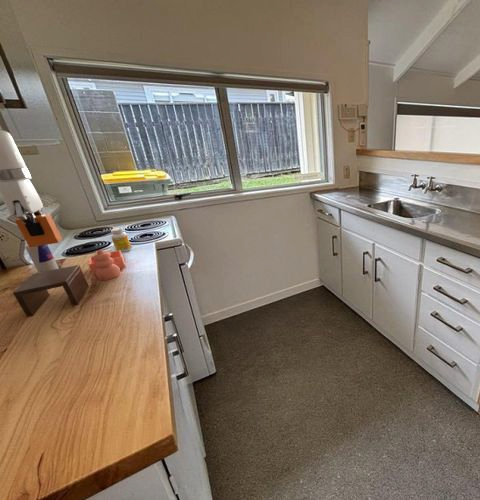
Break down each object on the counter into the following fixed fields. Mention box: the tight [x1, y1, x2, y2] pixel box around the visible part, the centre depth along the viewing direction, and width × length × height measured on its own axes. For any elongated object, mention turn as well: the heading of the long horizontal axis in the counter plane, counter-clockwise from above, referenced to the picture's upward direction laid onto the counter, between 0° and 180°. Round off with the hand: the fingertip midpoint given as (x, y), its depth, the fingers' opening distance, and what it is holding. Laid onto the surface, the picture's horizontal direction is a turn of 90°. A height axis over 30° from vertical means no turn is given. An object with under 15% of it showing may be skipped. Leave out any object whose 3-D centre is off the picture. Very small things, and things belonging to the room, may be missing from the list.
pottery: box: [88, 249, 126, 281], centre depth 102 cm, size 18×10×10 cm, turn 39°
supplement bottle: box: [110, 227, 133, 253], centre depth 121 cm, size 5×5×10 cm
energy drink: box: [24, 243, 60, 273], centre depth 102 cm, size 5×5×12 cm
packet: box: [14, 213, 63, 248], centre depth 91 cm, size 7×4×9 cm, turn 120°
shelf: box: [12, 264, 90, 318], centre depth 85 cm, size 11×13×8 cm
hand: (40, 232), depth 91 cm, fingers closed on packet, 4 cm apart
